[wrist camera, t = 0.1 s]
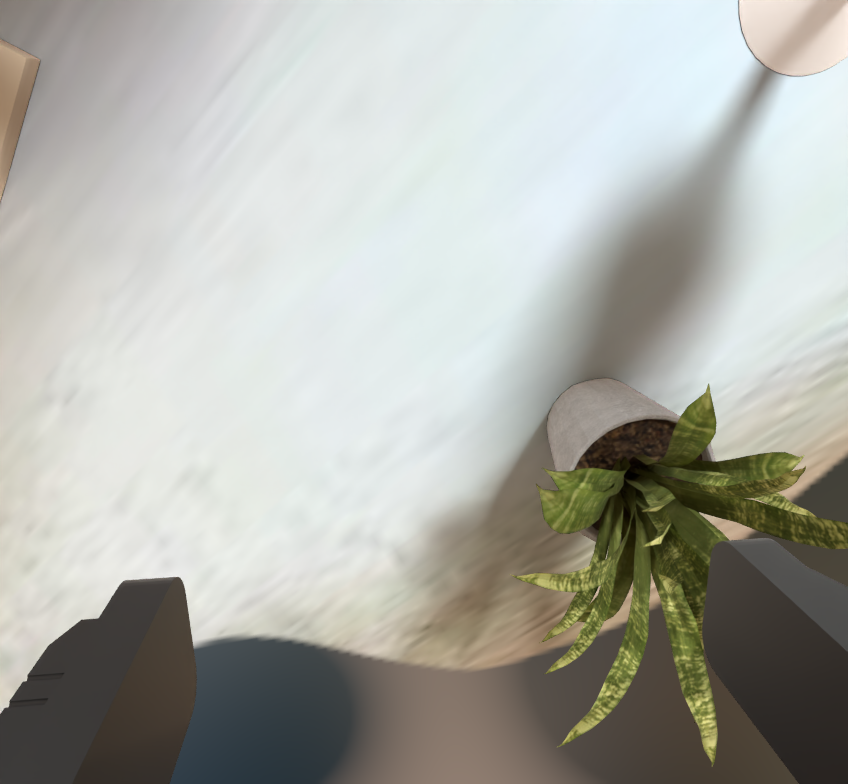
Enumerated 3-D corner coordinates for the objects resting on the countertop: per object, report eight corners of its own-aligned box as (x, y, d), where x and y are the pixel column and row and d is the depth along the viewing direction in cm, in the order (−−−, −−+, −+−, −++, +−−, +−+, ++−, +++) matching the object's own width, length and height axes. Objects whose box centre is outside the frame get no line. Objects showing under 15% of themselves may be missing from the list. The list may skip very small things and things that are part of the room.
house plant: (412, 517, 36) (453, 809, 21) (472, 278, 31) (582, 446, 16) (645, 546, 39) (827, 825, 24) (738, 330, 33) (1047, 516, 18)
